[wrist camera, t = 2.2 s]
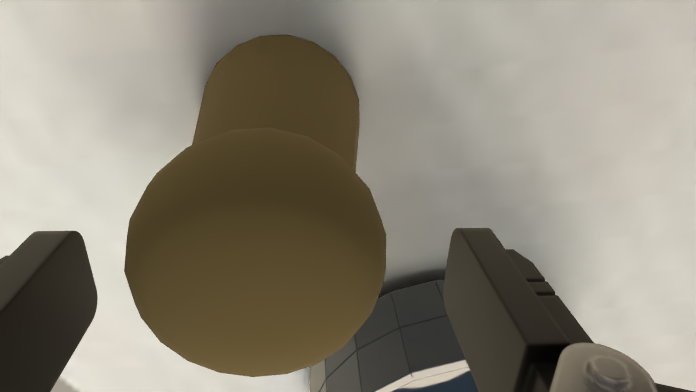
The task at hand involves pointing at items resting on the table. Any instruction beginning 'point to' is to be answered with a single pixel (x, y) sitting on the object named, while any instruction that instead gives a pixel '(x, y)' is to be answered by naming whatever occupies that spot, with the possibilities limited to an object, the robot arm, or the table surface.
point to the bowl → (399, 349)
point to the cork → (261, 219)
